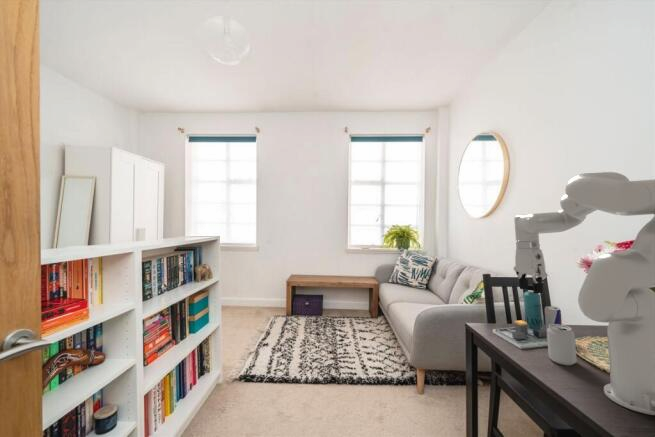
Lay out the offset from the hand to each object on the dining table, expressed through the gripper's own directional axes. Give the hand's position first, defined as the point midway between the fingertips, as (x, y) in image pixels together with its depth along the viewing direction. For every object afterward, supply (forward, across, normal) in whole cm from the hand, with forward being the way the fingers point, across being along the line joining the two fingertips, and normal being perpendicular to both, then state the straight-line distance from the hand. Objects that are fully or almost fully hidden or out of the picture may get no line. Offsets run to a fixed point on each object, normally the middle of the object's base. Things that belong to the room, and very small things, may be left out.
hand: (530, 290), depth 111 cm
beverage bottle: (+22, +14, -12) cm, 28 cm away
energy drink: (+22, +5, -13) cm, 26 cm away
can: (+22, -12, 0) cm, 25 cm away
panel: (+22, +6, 0) cm, 23 cm away
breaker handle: (+20, +7, 0) cm, 21 cm away
